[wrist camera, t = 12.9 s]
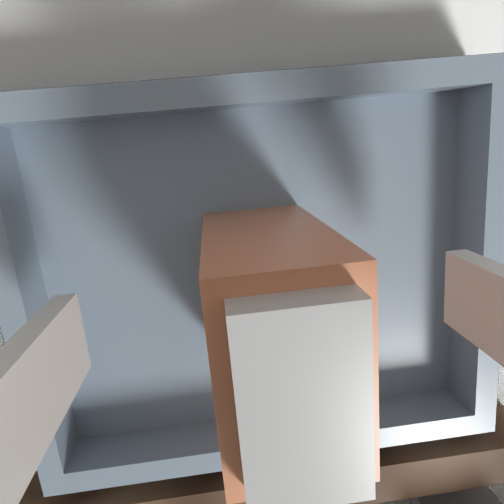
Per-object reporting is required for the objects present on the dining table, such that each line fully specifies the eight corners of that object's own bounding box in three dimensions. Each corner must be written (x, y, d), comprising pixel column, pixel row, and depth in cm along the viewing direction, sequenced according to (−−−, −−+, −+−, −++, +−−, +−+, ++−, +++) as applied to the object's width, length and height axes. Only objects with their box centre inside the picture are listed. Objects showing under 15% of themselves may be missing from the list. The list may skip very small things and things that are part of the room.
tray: (66, 448, 21) (43, 497, 18) (-13, 104, 17) (-59, 96, 14) (457, 394, 22) (495, 431, 20) (471, 65, 18) (520, 51, 15)
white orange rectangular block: (218, 344, 20) (228, 540, 10) (203, 213, 18) (197, 295, 8) (304, 333, 20) (396, 513, 10) (297, 204, 18) (396, 272, 9)
